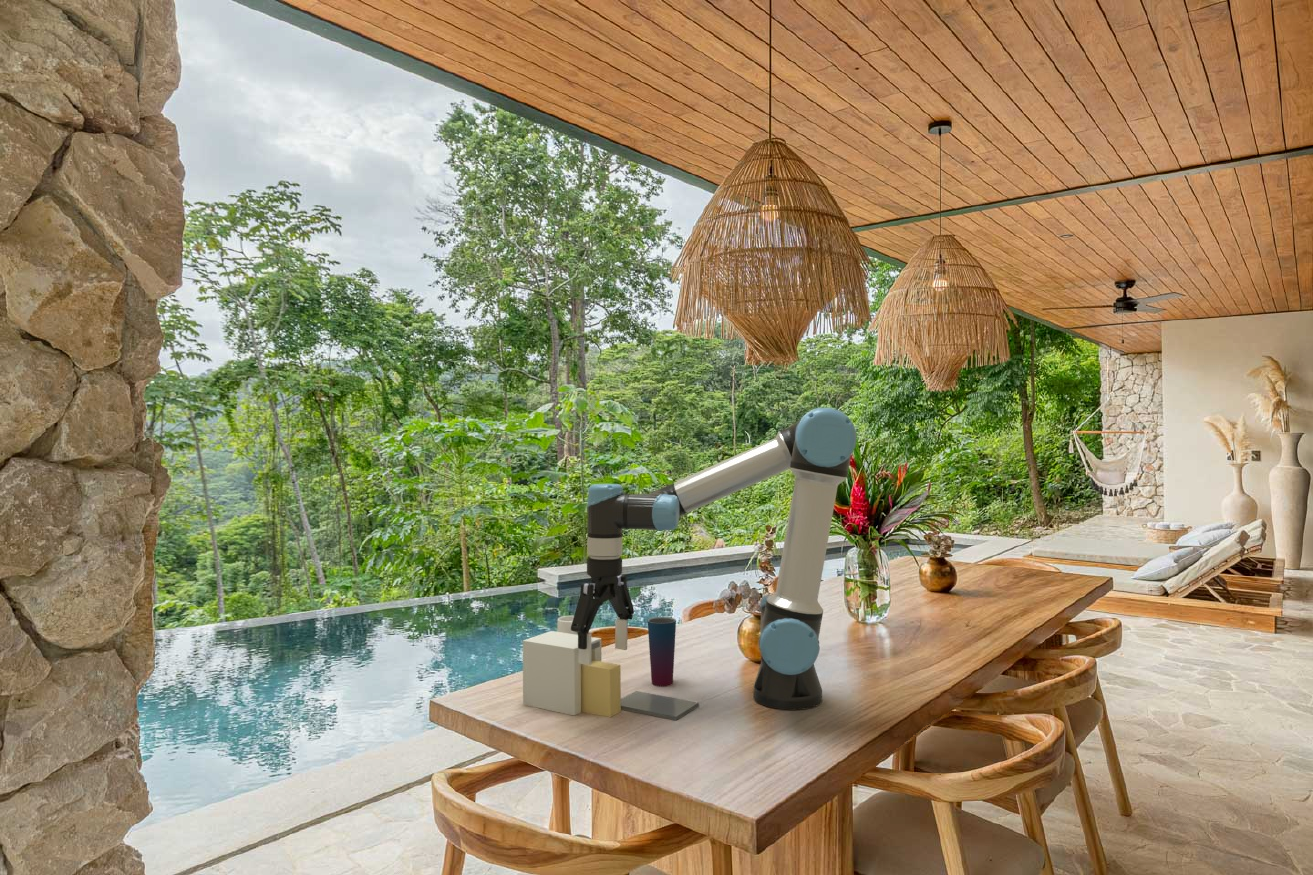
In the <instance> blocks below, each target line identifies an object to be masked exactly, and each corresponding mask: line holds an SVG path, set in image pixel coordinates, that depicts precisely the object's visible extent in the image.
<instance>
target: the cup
mask: <svg viewBox="0 0 1313 875" xmlns="http://www.w3.org/2000/svg"><path fill="white" fill-rule="evenodd" d="M676 626H677V619H676V618H674V617H669V616H658V617H656V616H655V617H650V618H648V619H647V631H648V632H647V633H648V647H649V648H648V650H649V662H650V663H649V664H650V677H651V684H652V685H653V686H655V687H668V686H671V685H673V682H674V665H675V649H676V630H677V627H676Z"/></svg>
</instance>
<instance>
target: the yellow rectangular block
mask: <svg viewBox="0 0 1313 875" xmlns="http://www.w3.org/2000/svg"><path fill="white" fill-rule="evenodd" d="M621 676H622V675H621V664H618V663H611V662H605V661H601V662H600V661H594V660H591V665H584V664H581V712H583V713H588V714H593V715H598V716H603V717H608V718H611V717H614V716H615V715H617V714H619V713H621V712H622V709H621V699H622V698H621V697H622V696H621V695H622V694H621V691H622V690H621Z"/></svg>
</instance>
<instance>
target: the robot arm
mask: <svg viewBox="0 0 1313 875" xmlns="http://www.w3.org/2000/svg"><path fill="white" fill-rule="evenodd" d="M856 446H857V432H856V428H855V424H854V422H852V420H851V418H850V417H848V416H847V415H846V414H845V413H844V412H842V411H841V410H839V409H837V408H832V407H824V406H821V407H817V408H813V409H811V410H810V411H808V412H807V413H805V414H804V415H803V416H801V418H800V419H799V420H798V421H796V422H794V423H793V424H791V425H789V426H788V427H786V428H784V429H781V430H779V431H777V434H776V436H775V438H772V439H769V440H768V441H766V442H764V443H761V444H759V445H757V446H754V447H752V448H749V449H747V450H745V451H742V452H740V453H738V454H735V455H734V456H731V457H729V458H727V459H725V460H722V461H720V462H718V463H715V464H713V465H711V466H709V467H706V468H704V469H702V470H700V471H698V472H695V473H693V474H691V475H689V476H686V477H684V478H682V479H680V480H676V481H675V482H673V483H669V484H668V485H666V486H663V487H661V488H659V489H655V490H653V491H651V492H650V493H647V494H646V493H645V494H644V493H640V494H639V493H633V494H632V493H625V491H624V486H623V485H621V484H618V483H594V484H591V485H590V486H589V487H588V489H587V490H588V492H587V504H586V509H587V510H586V513H587V517H586V519H587V524H586V525H587V527H586V528H587V530H586V531H587V533H586V534H587V537H586V538H587V541H586V542H587V543H586V545H587V547H586V549H587V550H586V553H587V555H588V556H589V557H587V559H586V575H588V576H589V577H590V583H586V582H582V583H581V584H580V590H579V591H580V592H579V597H578V602H577V604H576V608H575V610H574V611H575V612H574V618H573V622H572V625H571V630H572V631H574V632H577V633H578V649H579V655H578V663H579V664H584V665H591V640H592V637H593V636H592V635H593V634H592V632H590V630H591V627H592V626H593V623H594V621H595V619H596V616H597V613H598V611H599V609H600V607H601V606H602V605H603V604H604V602H607V601H608V602H609V603H610V605H611V607H612V608H613V610H614V613H615V614H616V616H617V617H616V618H615V622H614V623H615V625H614V626H615V633H614V635H615V636H614V637H615V638H614V649H615V650H616V649H617V650H622V651H626V650H628V631H629V630H628V629H629V624H628V623H629V620H632V619H633V618H634V617H633V616H634V614H635V610H634V606H633V602H632V599H631V598H632V597H631V595H630V591H629V588H628V582H627V576H626V574H625V575H624V574H623V558H622V557H621V556H622V555H623V530H643V531H644V530H645V531H648V530H649V531H659V532H664V531H675V530H677V529H678V528H679V523H680V522H679V521H680V517H682V516H683V515H684V516H685V515H686V514H688V513H690V512H692V511H695V510H697V509H699V508H700V509H701V508H702V507H705V506H707V505H709V504H711V503H714V502H716V501H718V500H720V499H723V498H726V497H727V496H731V495H732V494H735V493H736V492H739V491H741V490H744V489H746V488H749V487H751V486H753V485H756V484H757V483H761V482H762V481H765V480H767V479H769V478H772V477H775V476H776V475H779V474H781V473H784V472H786V471H788V470H790V472H791V473H792V474H793V475H794V479H795V480H794V485H793V492H792V495H791V504H790V508H789V514H788V518H787V519H788V520H787V526H786V531H785V536H784V537H785V538H784V541H783V542H784V544H783V549H782V554H781V560H780V565H779V570H778V577H777V582H776V589H775V592H773V593H772V594H766V595H763V596H762V597H761V598H760V606H759V609H760V610H759V611H760V632H759V639H758V647H759V652H760V665H759V668H758V672H757V675H756V678H755V681H754V684H753V699H754V701H756V703H758V704H760V705H763V706H766V707H768V708H773V709H778V710H779V709H780V710H792V711H793V710H794V711H795V710H804V709H805V710H806V709H812V708H816V707H817V706H819V705H821V704H822V702H823V689H822V685H821V682H820V680H819V677H818V676H819V675H818V673H817V670H816V667H815V662H816V661H817V659H818V657H819V653H820V648H821V647H820V646H821V645H820V640H819V638H820V633H821V626H822V619H823V615H824V614H823V613H824V609H823V606H821V605H820V603H819V593H820V588H821V583H822V577H823V572H824V565H825V561H826V560H825V559H826V553H827V549H828V548H827V547H828V542H829V538H830V531H831V526H832V520H833V514H834V510H835V509H834V508H835V503H836V498H837V492H838V486H839V485H840V484H841V483H843V482H845V481H846V480H847V478H848V475H849V474H848V473H849V468H850V463H851V458H852V455H853V452H854V451H855V449H856ZM577 624H578V625H577Z"/></svg>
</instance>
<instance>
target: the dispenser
mask: <svg viewBox="0 0 1313 875" xmlns="http://www.w3.org/2000/svg"><path fill="white" fill-rule="evenodd" d="M578 655H579V649H578V635H575V634H569V633H562V632H557V631H556V630H555V631H554V630H550V631H547V632H544V633H541V634H538V635H535V636H533V637H530V638H526V639H524V640H522V705H524V706H527V707H528V706H529V707H533V708H538V709H543V710H546V711H547V710H548V711H552V712H556V713H559V714H560V713H562V714H566V715H571V716H573V717H574V716H577V715H578V714H580V713H582V711H581V664H579V663H578ZM591 660H594V661H600V662H602V638H601V637H596V636H595V637H594V636H592V640H591Z"/></svg>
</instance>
